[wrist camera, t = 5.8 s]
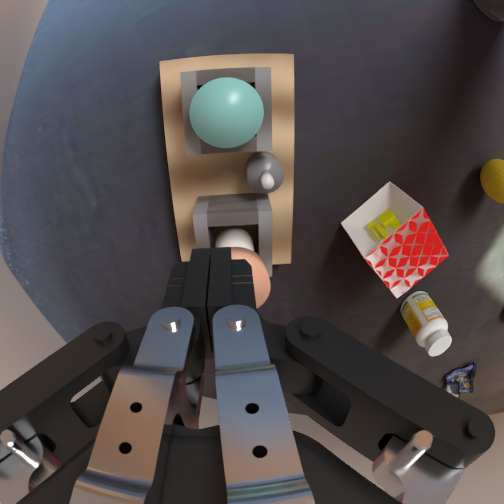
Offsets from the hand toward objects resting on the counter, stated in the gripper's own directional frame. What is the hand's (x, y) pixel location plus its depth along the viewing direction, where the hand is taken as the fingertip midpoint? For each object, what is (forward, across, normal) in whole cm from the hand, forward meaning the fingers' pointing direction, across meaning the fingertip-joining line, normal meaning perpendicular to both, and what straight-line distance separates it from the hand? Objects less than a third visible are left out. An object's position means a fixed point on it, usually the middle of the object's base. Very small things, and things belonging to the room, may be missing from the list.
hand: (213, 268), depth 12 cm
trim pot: (+19, -4, +1) cm, 19 cm away
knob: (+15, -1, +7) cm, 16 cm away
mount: (+22, -1, +1) cm, 22 cm away
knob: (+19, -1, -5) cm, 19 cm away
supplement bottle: (+22, -28, +22) cm, 42 cm away
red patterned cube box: (+22, -19, +9) cm, 30 cm away
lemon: (+22, -35, 0) cm, 41 cm away
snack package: (+22, -52, +50) cm, 75 cm away
